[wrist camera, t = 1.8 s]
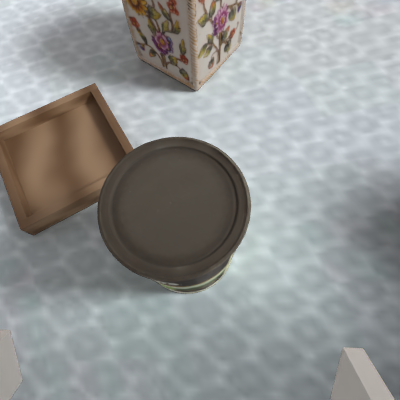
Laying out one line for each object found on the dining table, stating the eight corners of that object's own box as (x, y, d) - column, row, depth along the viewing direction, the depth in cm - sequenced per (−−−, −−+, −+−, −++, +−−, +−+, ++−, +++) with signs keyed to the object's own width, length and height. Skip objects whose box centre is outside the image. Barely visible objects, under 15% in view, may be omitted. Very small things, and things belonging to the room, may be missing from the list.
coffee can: (193, 315, 29) (179, 319, 16) (124, 252, 32) (64, 210, 19) (252, 240, 32) (282, 191, 19) (184, 188, 34) (169, 112, 21)
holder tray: (101, 95, 40) (94, 83, 38) (147, 175, 35) (143, 166, 33) (-1, 142, 38) (-14, 131, 36) (33, 235, 33) (20, 229, 31)
